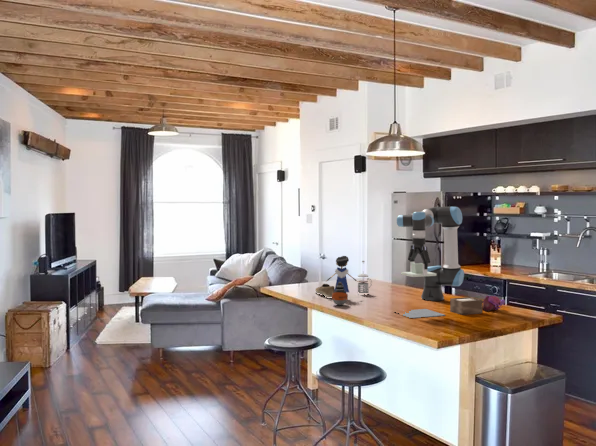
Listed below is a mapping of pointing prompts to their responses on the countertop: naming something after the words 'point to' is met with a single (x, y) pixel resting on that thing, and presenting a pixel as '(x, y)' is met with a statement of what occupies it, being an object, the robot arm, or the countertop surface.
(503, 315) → the countertop surface
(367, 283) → the french press
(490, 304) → the anatomical model
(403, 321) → the countertop surface
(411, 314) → the mat
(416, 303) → the countertop surface
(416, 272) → the lid
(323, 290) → the slip on shoe
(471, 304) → the storage box
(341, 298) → the grenade
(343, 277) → the figurine
